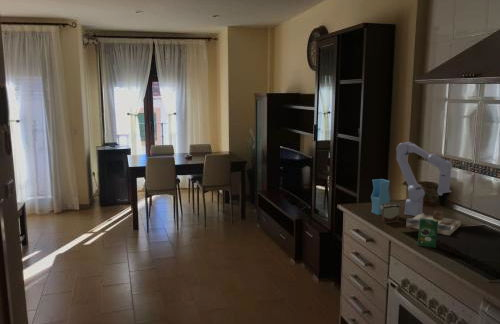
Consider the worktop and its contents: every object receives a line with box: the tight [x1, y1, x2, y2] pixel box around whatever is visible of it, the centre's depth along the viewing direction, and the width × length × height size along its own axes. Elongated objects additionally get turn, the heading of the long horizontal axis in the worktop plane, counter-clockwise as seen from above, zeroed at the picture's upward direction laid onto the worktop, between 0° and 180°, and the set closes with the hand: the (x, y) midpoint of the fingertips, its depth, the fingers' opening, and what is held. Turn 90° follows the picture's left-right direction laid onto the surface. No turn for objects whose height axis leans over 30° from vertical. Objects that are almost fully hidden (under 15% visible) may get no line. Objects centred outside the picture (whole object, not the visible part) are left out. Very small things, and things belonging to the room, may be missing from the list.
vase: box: [370, 178, 391, 216], centre depth 252 cm, size 8×8×20 cm
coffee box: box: [417, 218, 438, 249], centre depth 197 cm, size 8×3×13 cm, turn 68°
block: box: [432, 209, 444, 220], centre depth 233 cm, size 4×4×4 cm
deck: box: [405, 213, 462, 236], centre depth 228 cm, size 22×22×4 cm
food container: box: [380, 202, 401, 224], centre depth 237 cm, size 12×6×10 cm, turn 110°
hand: (442, 205), depth 238 cm, fingers closed
